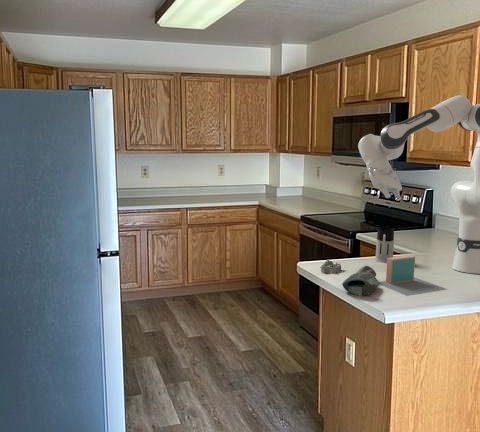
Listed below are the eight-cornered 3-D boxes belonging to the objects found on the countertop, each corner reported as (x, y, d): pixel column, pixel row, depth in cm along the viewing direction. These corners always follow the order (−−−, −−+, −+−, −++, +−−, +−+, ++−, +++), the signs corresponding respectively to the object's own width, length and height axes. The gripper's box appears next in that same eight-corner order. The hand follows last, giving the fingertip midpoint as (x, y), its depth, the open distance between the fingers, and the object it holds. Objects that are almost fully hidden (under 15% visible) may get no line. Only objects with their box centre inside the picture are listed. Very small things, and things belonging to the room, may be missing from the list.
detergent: (372, 299, 183) (387, 280, 205) (372, 279, 182) (386, 262, 204) (337, 296, 189) (354, 278, 211) (336, 277, 188) (354, 261, 210)
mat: (413, 278, 210) (413, 276, 210) (447, 290, 194) (447, 289, 194) (374, 283, 202) (374, 282, 202) (406, 297, 186) (406, 295, 185)
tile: (409, 279, 207) (410, 255, 205) (414, 280, 204) (415, 256, 202) (385, 282, 202) (387, 257, 200) (390, 284, 199) (391, 259, 198)
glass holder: (394, 258, 242) (396, 228, 240) (392, 266, 229) (394, 233, 226) (375, 257, 245) (377, 226, 243) (372, 264, 232) (374, 232, 229)
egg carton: (328, 267, 227) (328, 258, 226) (343, 270, 223) (343, 261, 222) (318, 272, 218) (318, 263, 217) (334, 275, 214) (334, 266, 214)
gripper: (374, 161, 201) (388, 191, 196) (396, 169, 217) (410, 197, 211) (361, 170, 205) (375, 199, 200) (384, 177, 220) (397, 204, 215)
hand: (393, 198), depth 206 cm, fingers open, 8 cm apart
